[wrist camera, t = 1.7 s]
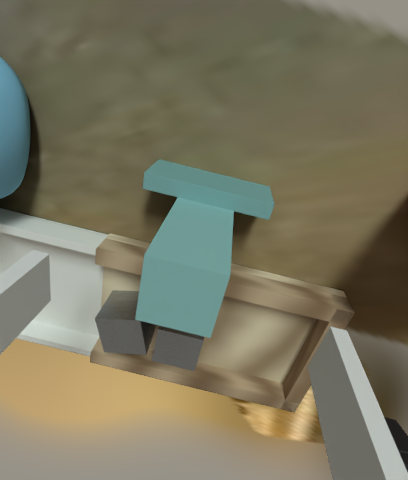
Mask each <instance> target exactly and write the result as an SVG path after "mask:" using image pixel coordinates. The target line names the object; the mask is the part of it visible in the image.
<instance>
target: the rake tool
mask: <svg viewBox="0 0 408 480" xmlns="http://www.w3.org/2000/svg"><path fill="white" fill-rule="evenodd" d="M143 189H146V190H150V191H154V192H158V193H163V194H167V195H171V196H175V197H178V198H177V200H176V201H175V203H174V205H173V206H172V208H171V210H170V212H169V213H168V215H167V217H166V218H165V220H164V222H163V224H162V225H161V227H160V229H159V230H158V232H157V234H156V236H155V237H154V239H153V241H152V242H151V244H150V246H149V248H148V249H147V251H146V253H145V254H144V261H143V268H142V275H141V282H140V289H139V296H138V303H137V310H136V317H135V320H139V321H143V322H147V323H151V324H155V325H159V326H163V327H167V328H172V329H176V330H180V331H184V332H188V333H192V334H196V335H200V336H204V337H208V338H211V335H212V332H213V329H214V325H215V322H216V319H217V316H218V313H219V310H220V307H221V303H222V300H223V297H224V294H225V291H226V288H227V284H228V281H229V278H230V271H231V253H232V236H233V218H234V211H235V212H239V213H243V214H247V215H251V216H255V217H259V218H263V219H268V220H269V218H270V215H271V213H272V210H273V207H274V200H273V197H272V194H271V190H270V187H269V186H265V185H261V184H257V183H253V182H249V181H245V180H241V179H237V178H233V177H229V176H225V175H221V174H217V173H212V172H208V171H204V170H200V169H196V168H192V167H188V166H184V165H180V164H176V163H172V162H168V161H164V160H160V159H159V160H158V161H157V162H156V163H155V164H153V165H152V166H151V167H150V168H149V169H148V170H146V171H145V174H144V183H143Z"/></svg>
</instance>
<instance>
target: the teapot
mask: <svg viewBox="0 0 408 480" xmlns="http://www.w3.org/2000/svg"><path fill="white" fill-rule="evenodd" d="M29 148H30V111H29V104H28V98H27V94H26V91H25V88H24V86H23V84H22V83H21V81H20V79H19V78H18V76H17V75H16V73H15V72H14V71H13V69H12V68H11V67H10V66H9V65H8V64H7V63H6V62H5V61H4V60H3V59H2V58H1V57H0V199H1V198H3V197H6V196H8V195H10V194H12V193H13V192H14V191H15V190H16V189H17V188H18V187H19V186H20V184H21V182H22V180H23V178H24V175H25V172H26V168H27V164H28V157H29Z"/></svg>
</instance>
